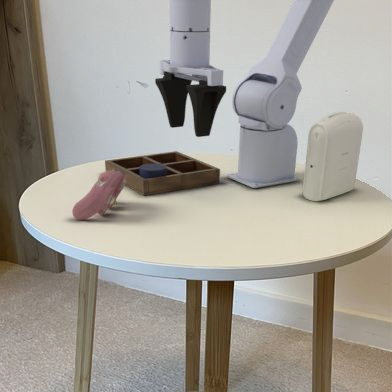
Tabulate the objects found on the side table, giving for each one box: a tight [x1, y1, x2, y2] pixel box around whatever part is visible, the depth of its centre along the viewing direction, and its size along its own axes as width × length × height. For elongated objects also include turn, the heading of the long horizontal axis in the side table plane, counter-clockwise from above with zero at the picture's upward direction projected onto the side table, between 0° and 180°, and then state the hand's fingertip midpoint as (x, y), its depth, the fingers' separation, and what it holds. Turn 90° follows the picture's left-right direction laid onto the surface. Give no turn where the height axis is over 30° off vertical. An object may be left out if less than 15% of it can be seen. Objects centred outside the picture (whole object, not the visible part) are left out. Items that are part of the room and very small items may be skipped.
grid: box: [104, 150, 221, 197], centre depth 102 cm, size 14×14×2 cm
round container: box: [139, 164, 167, 179], centre depth 98 cm, size 4×4×3 cm
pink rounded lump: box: [71, 169, 127, 221], centre depth 86 cm, size 10×5×7 cm, turn 168°
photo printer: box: [302, 111, 364, 202], centre depth 93 cm, size 10×4×12 cm, turn 133°
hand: (189, 131), depth 92 cm, fingers open, 7 cm apart
